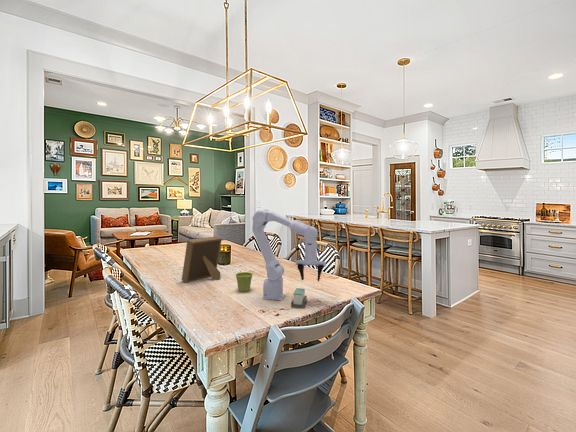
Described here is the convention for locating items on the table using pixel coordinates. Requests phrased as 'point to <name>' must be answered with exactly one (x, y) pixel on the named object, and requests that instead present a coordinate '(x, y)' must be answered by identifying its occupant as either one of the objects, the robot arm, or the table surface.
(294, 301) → the teal rectangular brick
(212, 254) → the photo frame
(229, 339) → the table surface
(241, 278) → the plant pot
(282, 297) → the robot arm
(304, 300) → the grey rectangular tray
